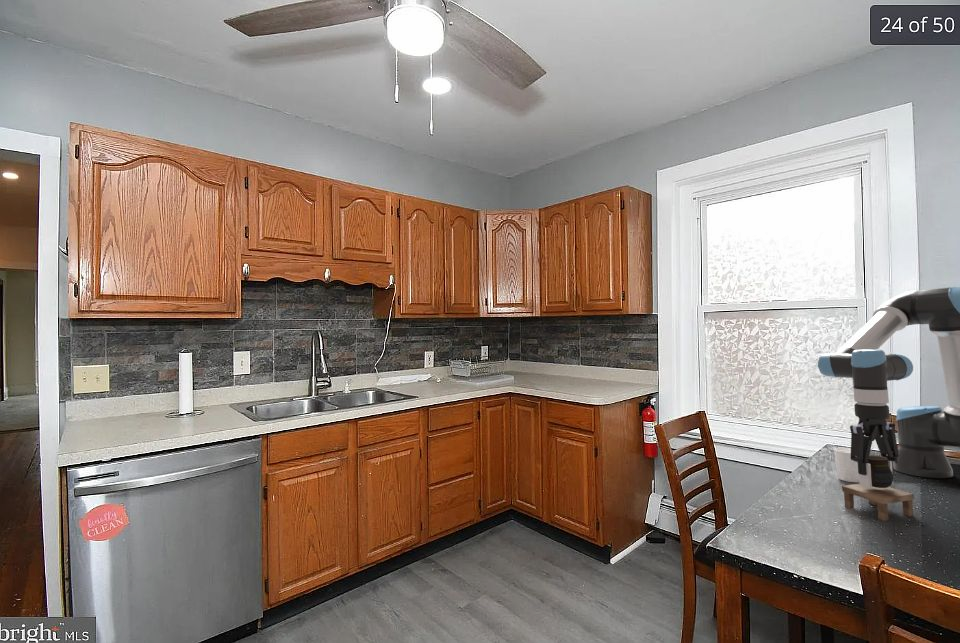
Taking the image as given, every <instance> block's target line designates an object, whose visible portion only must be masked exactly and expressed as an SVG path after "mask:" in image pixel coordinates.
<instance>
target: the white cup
mask: <svg viewBox="0 0 960 643" xmlns="http://www.w3.org/2000/svg"><path fill="white" fill-rule="evenodd" d="M833 452H834V459H835V466H836V472H837V478H838V479H839V480H841V481H844V482H849V483H855V484H860V480H859V473H858V463H857V462H856V461H853V460H851V447H835V448H833Z"/></svg>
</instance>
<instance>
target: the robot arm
mask: <svg viewBox="0 0 960 643" xmlns="http://www.w3.org/2000/svg"><path fill="white" fill-rule="evenodd" d="M913 325H928V328H929V329H928V330H929V332H931V333H932V334H935V335H936V338H937V343H938V348H939V354H940V359H941V365H942V366H941V367H942V371H943V377H944V382H945V389H946V395H947V399H948V405H947V406H945V407H944V408H943V409H942V408H941V406H936V405H914V406H903V407H900V408H897V410H896V419H895V421H896V424H895V423H894V422H888V421H887V420H888V419H889V418H890V416H891V415H890V407H889V405H887V404H889V403H890V400H889V389H888V382H889V381H900V380H903V379H904V380H905V379H907V378H908V377H910V376H911V375H912V374H913V371H914V364H913V362H912V360H911V359H910V358H909V357H907V356H905V355H902V354H897V353H889V354H886V352H885V351H884V350H882V349H879V348H881V347H882V346H883V345H884V344H885V343H886V342H887V341H888V339H890V338H891V337H892V336H893V335H894V334H895V333H896V332H899V331H902V330H904V329H905V328H906V327H907V326H913ZM817 368H818V370H819V373H820V374H822V375H823V376H825V377H831V378H832V377H833V378H848V379H852V382H853V383H852V384H853V385H852V389H853V400H854V402H855V403H854V405H853V406H854V415H855V417H857V418H858V423H857V424H856V425H854V424H853V425H850V426H849V430H850V434H851V436H850V448H851V460H853V461H856V462H857V463H858V473H859V480H860V482H859V484H860V485H862V486H866V487H869V488H872V480H871V465H870V464H868V459H869V455H870V454H871V449H872V444H873V442H874V441H875V443H876V445H877V448H878V451H879V454H880V456H882V457H886V458H888V466H889V468H890V470H891V471H892V474H893V475H894V473H893V471H894V470H895V471H897V472H899V473H902V474H907V475H910V476H916V477H922V478H930V479H931V478H932V479H949V478H953V477H954V470H953V468H952V465H951V464H950V461H949V459H948V457H947V455H946V454H945V447H947V448H948V447H949V448H956V449H960V286H950V287H940V288H939V287H938V288H931V289H921V290H919V289H917V290H910V291H906V292H904V293H900V294H899V295H896V296H894V297H892V298H890V299H889V300H887V301H885V302H884V303H883V304H881V305H880V306H879V307H878V308H876V309H875V311H873V314H872V318H871V319H870V320H869V321H867V323H865V325H863V327H861V328H860V329H859V330H858V331H857V332H856V333H855V334H854V335H853V336H851V338H849V340H847V341H846V343H844V344H843V345H842V346H841V347H840V348H839V349H838V350H837V351H836V352H834V353H832V352H830V353H823V354H821V355H820V356H819V358H818V360H817ZM896 428H897V429H896ZM896 430H897V436H896ZM897 440H898V444H897ZM892 485H894V481H893V482H892V484H891V486H892Z"/></svg>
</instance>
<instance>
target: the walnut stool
mask: <svg viewBox="0 0 960 643" xmlns="http://www.w3.org/2000/svg"><path fill="white" fill-rule="evenodd" d="M841 489H842V492H843V496H844V507H845V508H847V509H855V500H854V496H856V497H860V498H863V499H866V500H868V504H871V505H873V506H875V505H876V507H877V519H878V520H881V521H884V522H885V521H889V509H888V508H889V506H888V504H894V503H901V502H902V503H901V504H902V515H904V516H907V517H913V516H914V504H913V503H914V502H913V501H914V500H915V493H911V492H907V491H906V490H905V491H904V490H901V489H897V488H894V487H890V486H889V487H887V488H876V487H872V488H869V487H866V486H862V485H860V483H854V484H853V483H852V484H848V485H847V484H845V485H842V486H841Z"/></svg>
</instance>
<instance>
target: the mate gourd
mask: <svg viewBox="0 0 960 643" xmlns="http://www.w3.org/2000/svg"><path fill="white" fill-rule="evenodd" d="M868 464H870V465H871V480H872V487H876V488H887V487H890V486H892V485H893V484H892V482H893V483H894V473H893V474H892V471H891V470H890V468H889V466H888V458H886V457H882V456H881V455H873V454H872V455H870V454H869V459H868ZM891 484H892V485H891Z"/></svg>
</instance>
